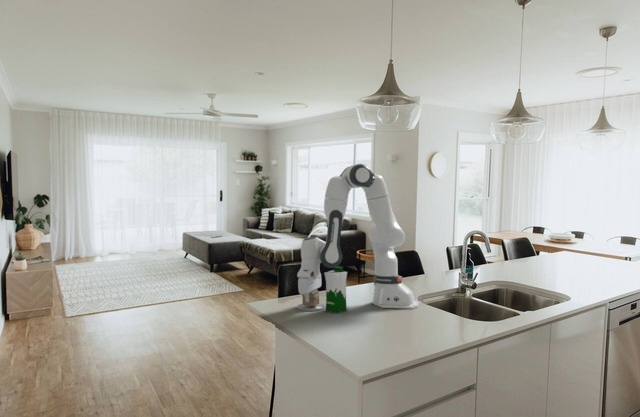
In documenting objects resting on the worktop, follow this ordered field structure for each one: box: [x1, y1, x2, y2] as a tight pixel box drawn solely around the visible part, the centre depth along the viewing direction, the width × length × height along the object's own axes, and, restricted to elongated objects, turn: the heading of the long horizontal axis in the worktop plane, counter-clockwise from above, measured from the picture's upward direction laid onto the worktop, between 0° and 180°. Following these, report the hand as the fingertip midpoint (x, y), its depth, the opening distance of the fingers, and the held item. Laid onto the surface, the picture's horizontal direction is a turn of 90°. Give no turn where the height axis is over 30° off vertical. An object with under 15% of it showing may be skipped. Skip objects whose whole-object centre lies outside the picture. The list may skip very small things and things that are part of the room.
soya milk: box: [323, 265, 348, 314], centre depth 193 cm, size 9×9×20 cm
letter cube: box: [301, 290, 320, 306], centre depth 199 cm, size 6×6×6 cm
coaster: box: [296, 302, 326, 312], centre depth 199 cm, size 13×13×1 cm
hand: (310, 300), depth 199 cm, fingers closed on letter cube, 6 cm apart
